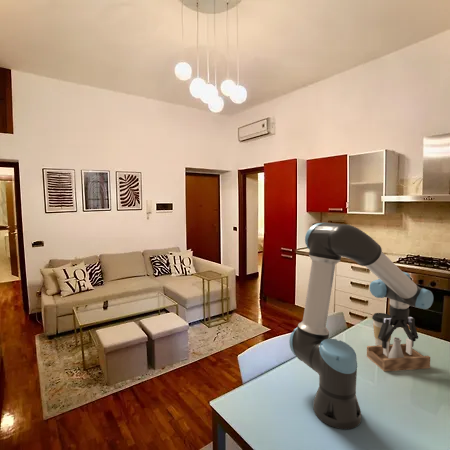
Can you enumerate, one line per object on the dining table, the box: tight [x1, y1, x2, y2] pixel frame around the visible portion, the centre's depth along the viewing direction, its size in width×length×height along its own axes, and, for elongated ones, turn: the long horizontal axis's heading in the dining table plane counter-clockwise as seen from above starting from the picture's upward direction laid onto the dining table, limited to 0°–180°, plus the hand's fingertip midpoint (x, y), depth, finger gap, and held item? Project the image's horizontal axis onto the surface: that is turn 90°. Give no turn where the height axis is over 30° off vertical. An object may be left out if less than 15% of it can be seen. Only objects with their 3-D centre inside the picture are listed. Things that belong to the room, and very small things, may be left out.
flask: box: [388, 336, 404, 358], centre depth 129 cm, size 7×7×10 cm
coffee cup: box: [371, 312, 393, 346], centre depth 145 cm, size 10×10×15 cm
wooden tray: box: [366, 343, 431, 372], centre depth 129 cm, size 21×12×5 cm, turn 96°
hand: (397, 354), depth 129 cm, fingers open, 10 cm apart
